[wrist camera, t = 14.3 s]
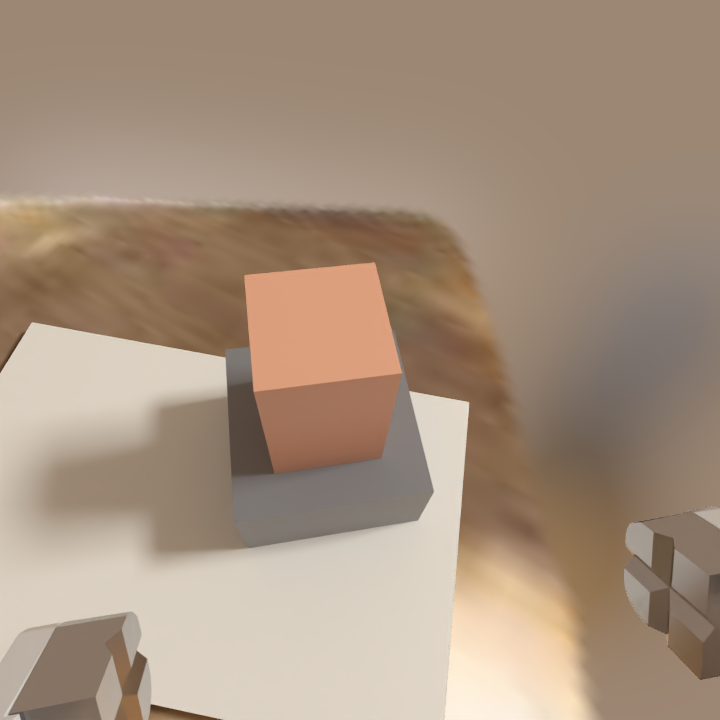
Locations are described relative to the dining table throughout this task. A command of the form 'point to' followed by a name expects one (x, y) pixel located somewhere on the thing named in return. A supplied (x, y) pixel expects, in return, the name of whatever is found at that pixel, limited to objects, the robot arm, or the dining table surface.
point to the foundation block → (320, 474)
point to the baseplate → (212, 542)
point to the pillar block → (322, 364)
